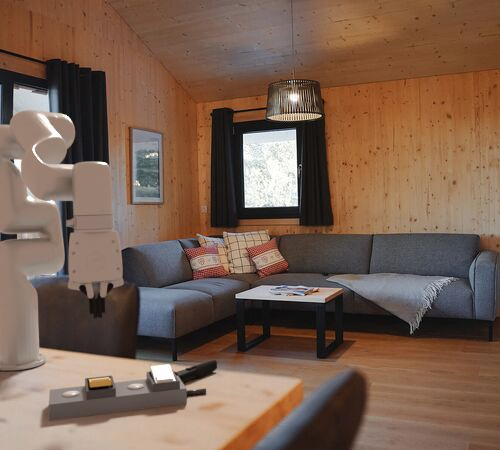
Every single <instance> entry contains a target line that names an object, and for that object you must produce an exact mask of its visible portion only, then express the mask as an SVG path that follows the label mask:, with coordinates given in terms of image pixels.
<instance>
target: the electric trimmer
mask: <svg viewBox="0 0 500 450" xmlns="http://www.w3.org/2000/svg"><path fill="white" fill-rule="evenodd" d="M217 369H218V362H217V359H216V360H215V359H214V360H213V359H212V360H209V361H206V362H203V363H199V364H196V365H193V366H190V367H186V368H185V369H182V370H178V371H174V370H173V372H174V373H175V375H176V376H178V377H179V378H180V379H181V381H182V382H183V383H185V382H188V381H191V380H193V379H200V378H203V377H204V376H207V375H209V374H210V373H212V372H214V371H216V370H217Z"/></svg>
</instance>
